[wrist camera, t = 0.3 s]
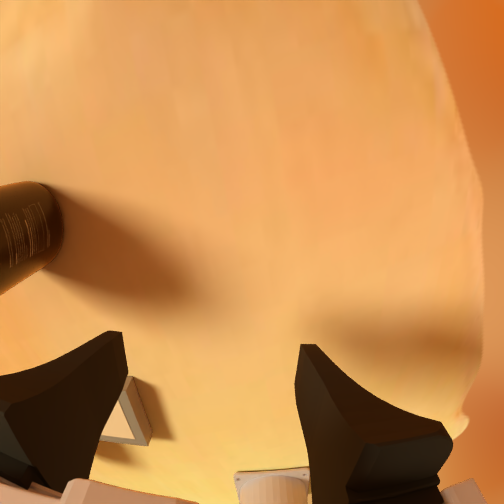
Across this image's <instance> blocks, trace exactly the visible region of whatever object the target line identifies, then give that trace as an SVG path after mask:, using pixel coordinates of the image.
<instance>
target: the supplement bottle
mask: <svg viewBox="0 0 504 504" xmlns="http://www.w3.org/2000/svg"><path fill="white" fill-rule="evenodd" d="M62 238H63V221H62V216H61V212H60V209H59V206H58V204H57V202H56V200H55V199H54V197H53V196H52V194H51V193H50V192H49V191H48V190H47V189H46V188H45V187H43V186H42V185H40V184H38V183H36V182H31V181H24V182H18V183H12V184H7V185H3V186H0V295H2V294H3V293H5V292H6V291H8V290H9V289H11V288H12V287H14V286H15V285H17V284H18V283H20V282H21V281H23V280H24V279H26V278H28V277H29V276H31V275H32V274H34V273H35V272H37V271H38V270H40V269H41V268H43V267H45V266H46V265H48V264H49V263H50V262H51V261H52V260H53V259H54V258H55V257H56V255H57V253H58V251H59V249H60V246H61V243H62Z"/></svg>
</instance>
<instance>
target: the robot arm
mask: <svg viewBox="0 0 504 504" xmlns="http://www.w3.org/2000/svg"><path fill="white" fill-rule="evenodd" d="M127 375H128V367H127V361H126V355H125V349H124V342H123V336H122V332H117V331H107V332H104V333H102V334H101V335H99V336H97V337H95V338H93V339H92V340H90V341H88V342H87V343H85V344H83V345H81V346H80V347H78V348H76V349H74V350H72V351H70V352H69V353H67V354H65V355H63V356H61V357H59V358H57V359H55V360H52V361H50V362H48V363H45V364H43V365H40V366H37V367H35V368H31V369H28V370H24V371H21V372H17V373H13V374H8V375H2V376H0V504H199V503H197V502H193V501H188V500H184V499H180V498H175V497H168V496H162V495H156V494H150V493H145V492H140V491H135V490H130V489H126V488H121V487H117V486H113V485H109V484H105V483H102V482H98V481H94V480H89V475H90V470H91V467H92V463H93V459H94V455H95V452H96V449H97V446H98V443H99V439H100V436H101V434H102V432H103V429H104V427H105V425H106V423H107V421H108V419H109V417H110V415H111V413H112V411H113V409H114V407H115V405H116V403H117V401H118V399H119V397H120V395H121V393H122V390H123V387H124V384H125V381H126V378H127ZM294 385H295V396H296V405H297V409H298V414H299V418H300V422H301V426H302V430H303V434H304V438H305V442H306V447H307V452H308V459H309V468H310V469H309V468H297V469H287V470H275V471H260V472H236V473H234V475H233V477H234V482H235V486H236V490H237V494H238V498H239V503H240V504H307V496H308V487H309V478H311V490H312V504H487V502H486V501H485V499H484V497H483V495H482V493H481V491H480V490H479V488H478V486H477V484H476V482H475V481H474V479H468V480H466V481H463V482H460V483H458V484H455V485H452V486H450V487H447V488H445V489H444V490H443V491H441V492H439V489H438V487H437V485H439V483H440V479H439V477H438V475H437V473H438V471H439V470H440V469H441V467H442V466H443V464H444V463H445V461H446V460H447V459H448V457H449V455H450V453H451V451H452V448H453V441H452V439H451V437H450V435H449V434H448V432H447V431H446V429H445V427H444V426H443V424H442V423H441V422H439V421H435V420H432V419H428V418H424V417H421V416H417V415H415V414H412V413H409V412H407V411H404V410H402V409H399V408H397V407H395V406H393V405H391V404H389V403H387V402H385V401H383V400H381V399H380V398H378V397H376V396H375V395H373V394H372V393H370V392H368V391H367V390H365V389H364V388H363V387H361V386H360V385H358V384H357V383H356V382H355V381H354V380H352V379H351V378H350V377H349V376H347V375H346V374H345V373H344V372H343V371H342V370H341V369H340V368H339V367H338V366H337V365H335V364H334V363H333V362H332V361H331V360H330V358H329V357H328V356H327V355H326V354H325V353H324V352H323V351H322V350H321V349H320V348H319V347H318V346H317V345H316V344H301V345H300V351H299V358H298V365H297V371H296V377H295V383H294Z"/></svg>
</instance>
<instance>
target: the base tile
mask: <svg viewBox="0 0 504 504" xmlns="http://www.w3.org/2000/svg"><path fill="white" fill-rule="evenodd" d="M152 433H153V431H152V429H151V426H150V423H149V421H148V418H147V416H146V413H145V410H144V408H143V405H142V402H141V399H140V397H139V394H138V391H137V388H136V385H135V382H134V379H133V376H127V378H126V381H125V384H124V387H123V390H122V393H121V395H120V397H119V399H118V401H117V403H116V405H115V407H114V409H113V411H112V413H111V415H110V417H109V419H108V421H107V423H106V425H105V427H104V429H103V432H102V434H101V436H100V439H99V440H101V441H108V442H115V443H122V444H130V445H140V446H148V445H149V442H150V439H151V436H152Z"/></svg>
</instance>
